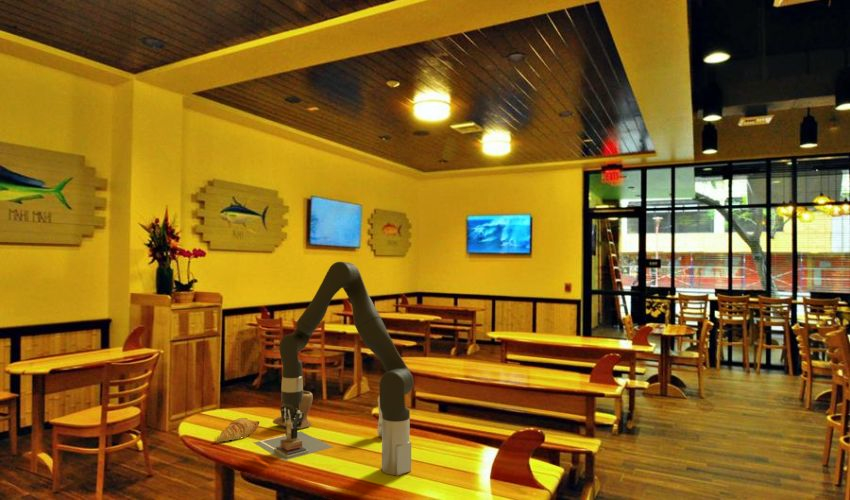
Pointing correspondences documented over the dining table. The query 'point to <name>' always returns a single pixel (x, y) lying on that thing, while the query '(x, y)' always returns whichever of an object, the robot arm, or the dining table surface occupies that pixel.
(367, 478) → the dining table surface
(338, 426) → the dining table surface
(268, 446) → the desk board
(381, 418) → the plastic bottle
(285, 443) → the stamp
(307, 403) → the tan boot
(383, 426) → the robot arm
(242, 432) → the croissant
